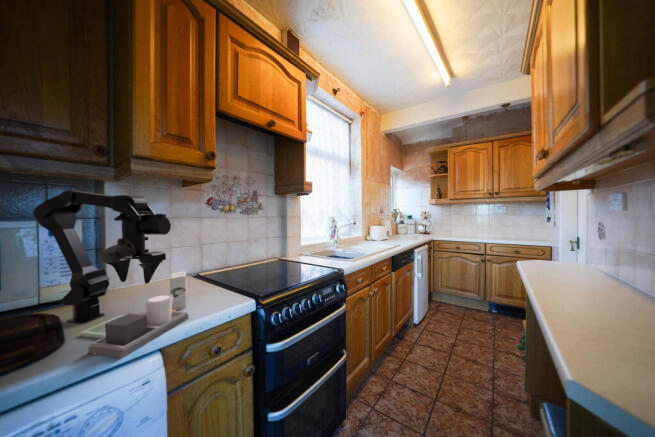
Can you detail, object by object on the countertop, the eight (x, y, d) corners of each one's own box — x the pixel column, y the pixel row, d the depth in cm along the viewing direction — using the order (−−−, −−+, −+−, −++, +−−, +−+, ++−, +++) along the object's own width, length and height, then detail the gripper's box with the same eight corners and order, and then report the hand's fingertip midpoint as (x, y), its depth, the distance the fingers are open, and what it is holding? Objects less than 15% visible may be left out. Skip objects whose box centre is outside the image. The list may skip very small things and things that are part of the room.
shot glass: (177, 318, 74) (177, 296, 73) (152, 328, 68) (152, 304, 67) (166, 313, 77) (166, 292, 77) (141, 322, 71) (141, 299, 71)
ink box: (171, 302, 90) (170, 272, 89) (186, 300, 92) (186, 270, 92) (170, 311, 83) (169, 278, 82) (186, 308, 85) (186, 275, 85)
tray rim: (79, 335, 66) (79, 332, 66) (120, 318, 77) (120, 315, 77) (111, 339, 64) (111, 336, 64) (148, 321, 75) (148, 318, 75)
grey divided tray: (88, 353, 58) (87, 327, 58) (162, 315, 79) (162, 296, 79) (121, 358, 56) (120, 331, 56) (188, 318, 77) (188, 298, 77)
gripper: (80, 236, 69) (82, 289, 70) (132, 238, 66) (134, 293, 67) (120, 233, 80) (121, 278, 81) (166, 234, 77) (167, 281, 77)
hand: (135, 282), depth 76 cm, fingers open, 9 cm apart
